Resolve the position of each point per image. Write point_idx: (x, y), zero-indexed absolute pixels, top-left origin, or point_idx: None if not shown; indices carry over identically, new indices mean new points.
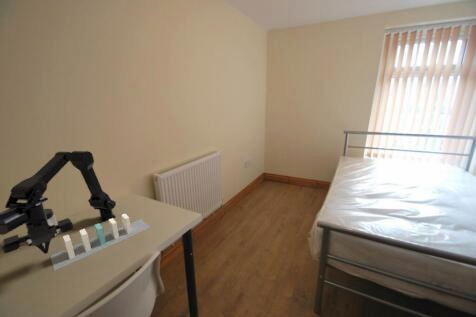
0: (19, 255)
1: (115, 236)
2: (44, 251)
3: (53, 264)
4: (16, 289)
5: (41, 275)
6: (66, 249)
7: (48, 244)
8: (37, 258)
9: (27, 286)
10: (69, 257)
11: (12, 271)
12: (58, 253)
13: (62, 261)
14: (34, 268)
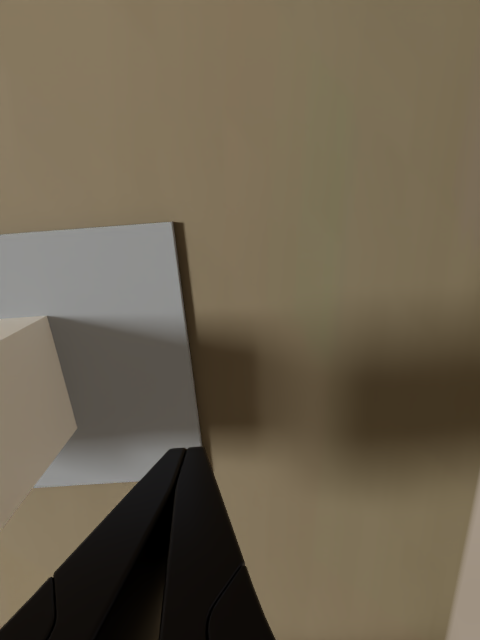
0: (377, 607)
1: None
2: (192, 477)
3: (180, 335)
4: (460, 188)
5: (275, 247)
6: (38, 446)
7: (35, 614)
8: (286, 507)
9: (386, 158)
10: (33, 322)
11: (438, 464)
12: (145, 467)
13: (108, 326)
14: (314, 395)
